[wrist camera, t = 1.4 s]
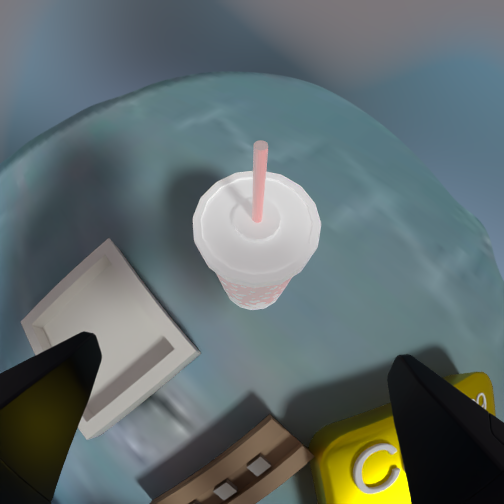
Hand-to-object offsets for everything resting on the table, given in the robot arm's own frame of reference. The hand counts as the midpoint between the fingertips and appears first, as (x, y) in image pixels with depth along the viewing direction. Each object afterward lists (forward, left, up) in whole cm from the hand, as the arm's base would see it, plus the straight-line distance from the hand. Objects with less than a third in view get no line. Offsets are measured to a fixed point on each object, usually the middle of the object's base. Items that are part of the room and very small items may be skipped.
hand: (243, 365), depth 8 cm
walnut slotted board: (-7, -6, -13) cm, 16 cm away
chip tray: (-7, +8, -13) cm, 17 cm away
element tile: (+2, -17, -13) cm, 21 cm away
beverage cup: (+5, +4, -13) cm, 15 cm away
